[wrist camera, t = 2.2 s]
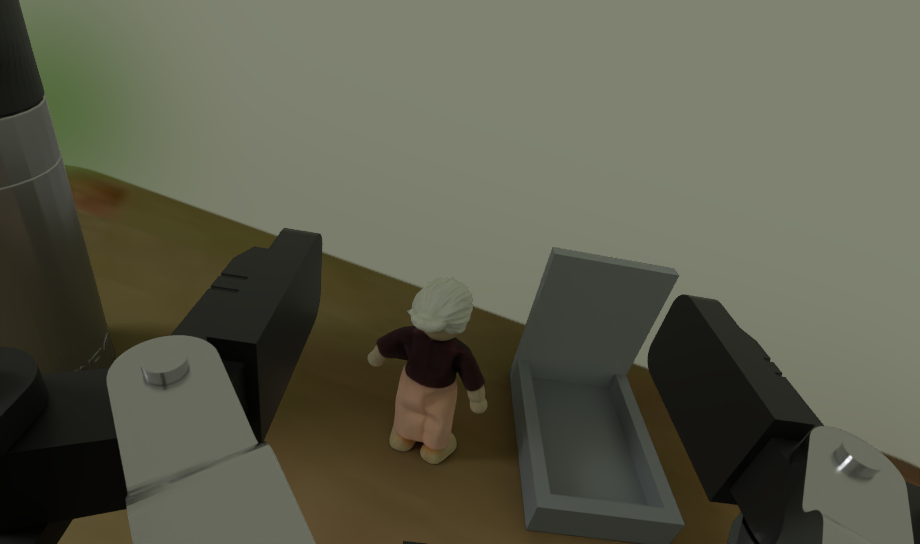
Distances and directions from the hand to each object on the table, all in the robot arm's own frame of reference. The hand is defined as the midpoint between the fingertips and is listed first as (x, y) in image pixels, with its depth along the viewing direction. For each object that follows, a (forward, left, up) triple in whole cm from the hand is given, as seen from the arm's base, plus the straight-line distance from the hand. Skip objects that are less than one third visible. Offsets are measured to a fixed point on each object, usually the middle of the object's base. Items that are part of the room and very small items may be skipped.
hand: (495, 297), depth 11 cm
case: (+11, +13, -20) cm, 27 cm away
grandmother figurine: (0, +12, -21) cm, 24 cm away
